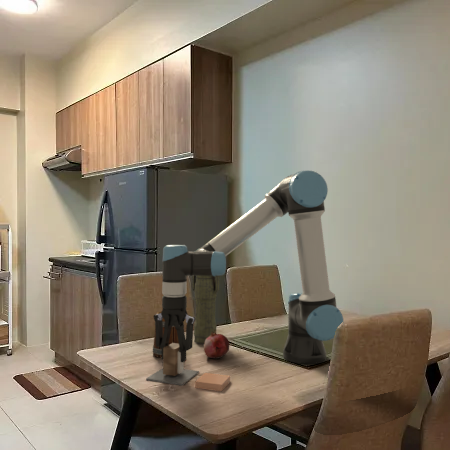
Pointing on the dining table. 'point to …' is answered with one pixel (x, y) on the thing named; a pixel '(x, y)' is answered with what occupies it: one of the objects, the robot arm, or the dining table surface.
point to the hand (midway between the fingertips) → (173, 370)
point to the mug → (173, 339)
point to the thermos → (205, 306)
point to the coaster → (173, 377)
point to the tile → (212, 381)
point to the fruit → (216, 345)
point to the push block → (170, 359)
